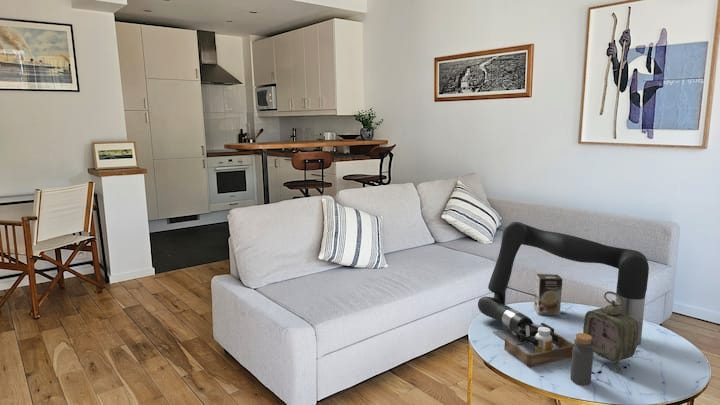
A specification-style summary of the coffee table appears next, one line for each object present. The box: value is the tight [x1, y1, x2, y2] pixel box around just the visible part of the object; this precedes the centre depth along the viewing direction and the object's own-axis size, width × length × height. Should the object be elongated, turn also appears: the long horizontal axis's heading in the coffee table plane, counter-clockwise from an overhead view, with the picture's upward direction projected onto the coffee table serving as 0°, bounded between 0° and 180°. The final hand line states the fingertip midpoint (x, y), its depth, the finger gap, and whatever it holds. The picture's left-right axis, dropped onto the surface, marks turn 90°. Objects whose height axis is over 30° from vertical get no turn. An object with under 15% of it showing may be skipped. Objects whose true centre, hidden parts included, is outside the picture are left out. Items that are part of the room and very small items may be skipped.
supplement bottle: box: [534, 327, 553, 353], centre depth 161 cm, size 5×5×10 cm
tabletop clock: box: [582, 291, 638, 373], centre depth 154 cm, size 14×9×25 cm, turn 23°
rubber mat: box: [491, 328, 536, 346], centre depth 176 cm, size 12×12×1 cm
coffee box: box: [533, 273, 563, 316], centre depth 195 cm, size 9×6×16 cm
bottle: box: [570, 332, 594, 386], centre depth 145 cm, size 6×6×15 cm
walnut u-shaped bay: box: [504, 331, 575, 368], centre depth 163 cm, size 13×20×4 cm, turn 109°
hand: (547, 341), depth 159 cm, fingers open, 8 cm apart
